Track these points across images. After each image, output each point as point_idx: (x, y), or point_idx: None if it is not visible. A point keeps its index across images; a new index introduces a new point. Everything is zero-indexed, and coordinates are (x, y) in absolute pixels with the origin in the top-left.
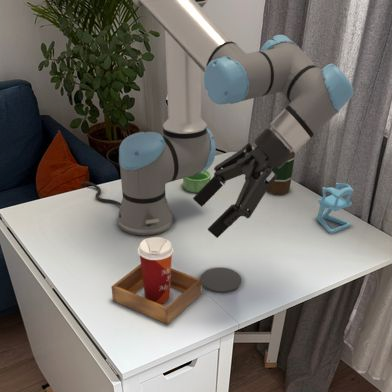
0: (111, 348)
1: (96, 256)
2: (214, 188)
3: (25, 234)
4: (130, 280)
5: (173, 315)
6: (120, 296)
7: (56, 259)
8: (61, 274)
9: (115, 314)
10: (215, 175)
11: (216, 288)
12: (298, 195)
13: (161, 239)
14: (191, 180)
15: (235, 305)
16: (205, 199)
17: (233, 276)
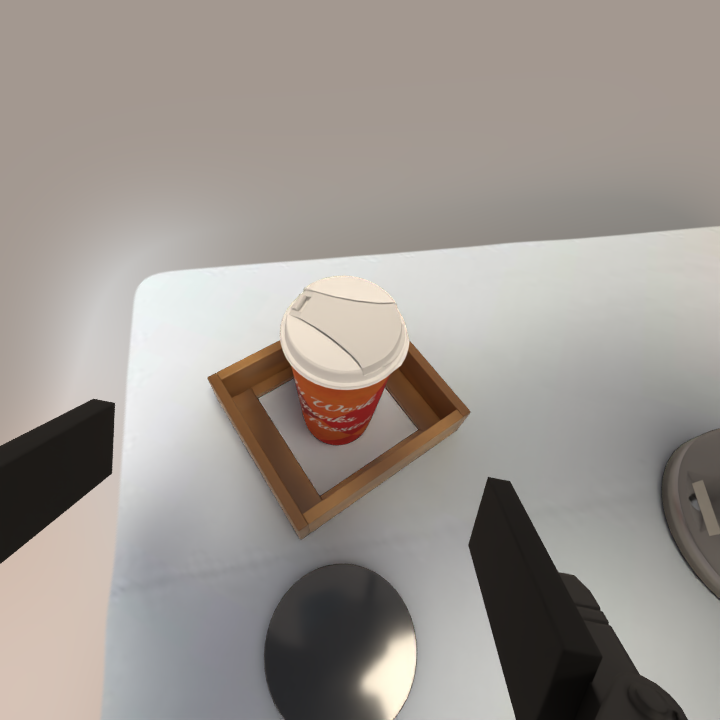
0: (211, 274)
1: (561, 339)
2: (512, 642)
3: (673, 239)
4: None
5: (225, 411)
6: None
7: (560, 265)
8: (498, 260)
9: None
10: (613, 681)
11: (295, 601)
12: None
13: (374, 350)
14: None
15: (189, 630)
16: (483, 564)
17: (338, 711)
